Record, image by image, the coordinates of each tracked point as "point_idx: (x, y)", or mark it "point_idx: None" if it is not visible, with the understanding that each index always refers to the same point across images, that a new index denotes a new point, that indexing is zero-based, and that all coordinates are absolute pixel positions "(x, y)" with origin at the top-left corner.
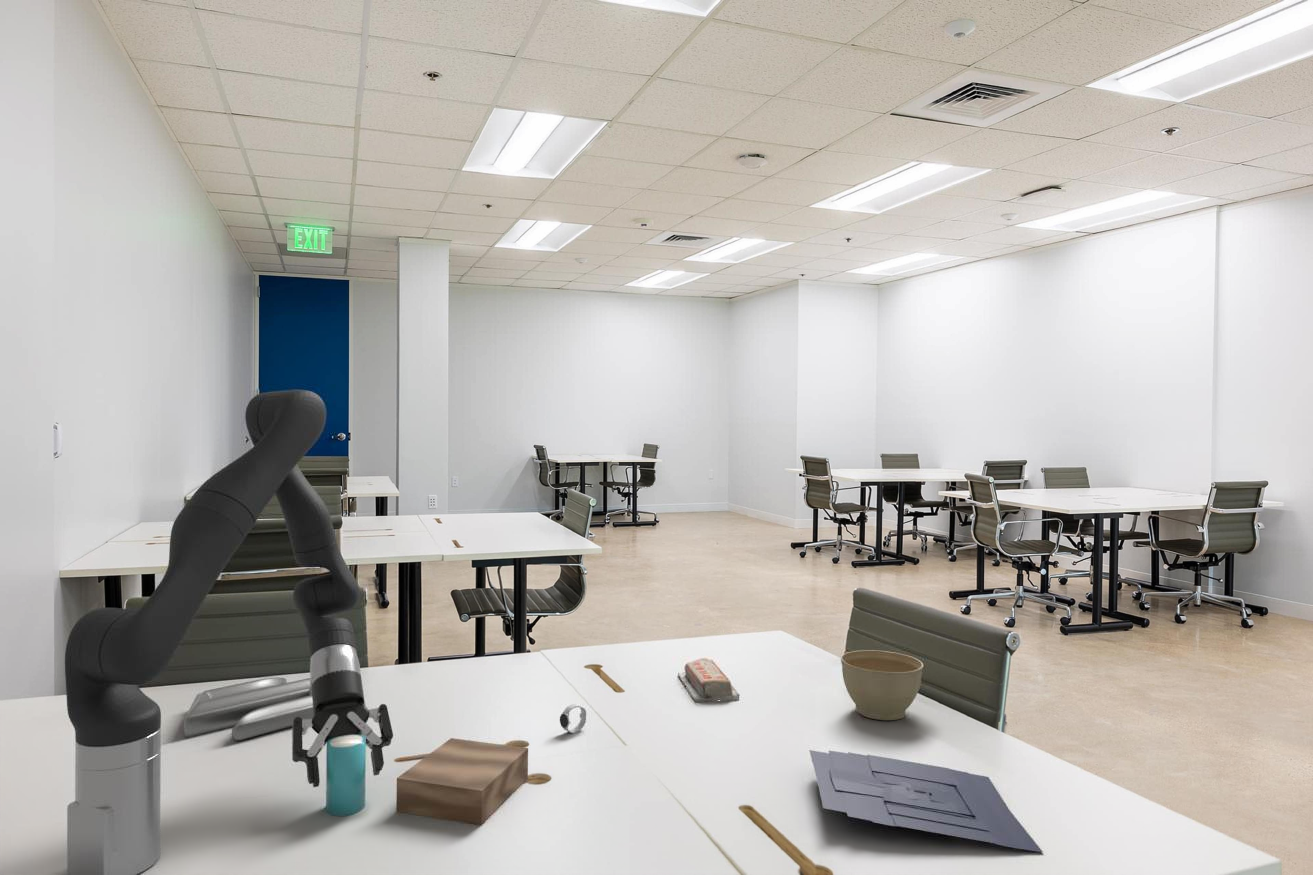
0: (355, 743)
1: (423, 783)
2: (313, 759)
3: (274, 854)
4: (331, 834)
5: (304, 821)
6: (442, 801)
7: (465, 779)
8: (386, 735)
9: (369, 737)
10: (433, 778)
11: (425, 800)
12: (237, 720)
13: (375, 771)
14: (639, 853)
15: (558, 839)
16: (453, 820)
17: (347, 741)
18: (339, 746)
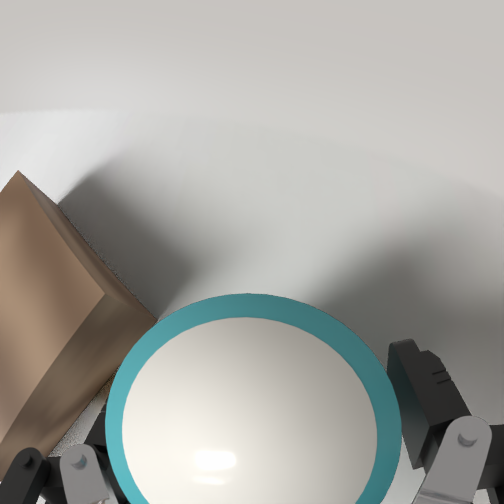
0: (176, 357)
1: (64, 238)
2: (446, 411)
3: (438, 203)
4: (327, 252)
5: None
6: (66, 228)
7: (7, 224)
8: (34, 465)
9: (100, 493)
10: (39, 252)
11: (88, 255)
12: None
13: None
14: (9, 127)
15: (25, 154)
16: (78, 232)
17: (231, 428)
18: (302, 339)
